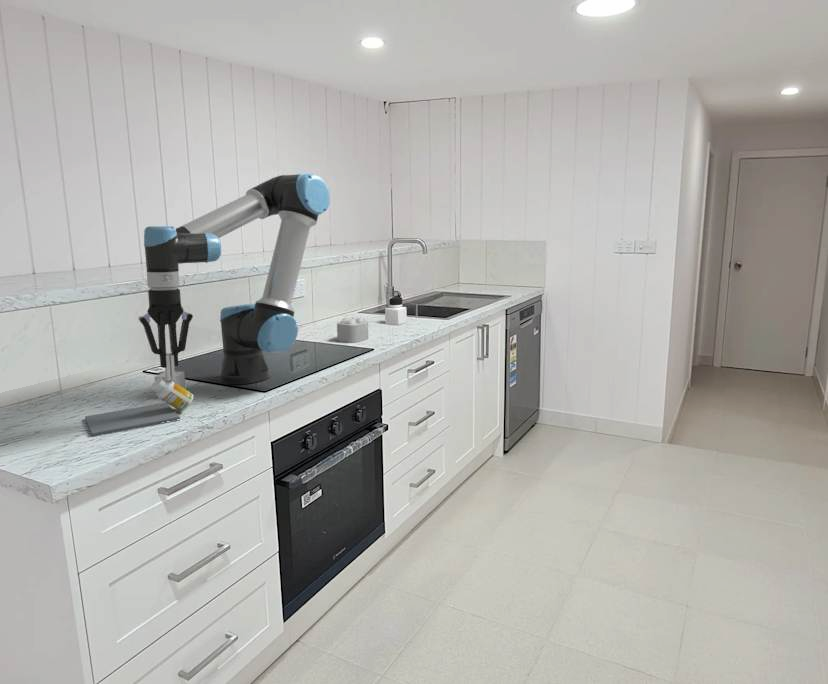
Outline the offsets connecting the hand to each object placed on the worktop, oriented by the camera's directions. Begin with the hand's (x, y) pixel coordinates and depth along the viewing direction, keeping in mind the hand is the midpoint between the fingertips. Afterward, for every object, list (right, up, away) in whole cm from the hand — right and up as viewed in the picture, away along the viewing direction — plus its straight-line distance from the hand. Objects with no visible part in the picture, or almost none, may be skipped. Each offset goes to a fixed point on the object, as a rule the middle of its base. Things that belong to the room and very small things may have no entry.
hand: (170, 378), depth 164 cm
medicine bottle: (+55, +18, +121) cm, 134 cm away
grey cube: (-7, -6, +19) cm, 21 cm away
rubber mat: (-8, -10, -3) cm, 14 cm away
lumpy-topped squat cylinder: (+39, +10, +89) cm, 98 cm away
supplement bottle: (+3, -7, +4) cm, 8 cm away
